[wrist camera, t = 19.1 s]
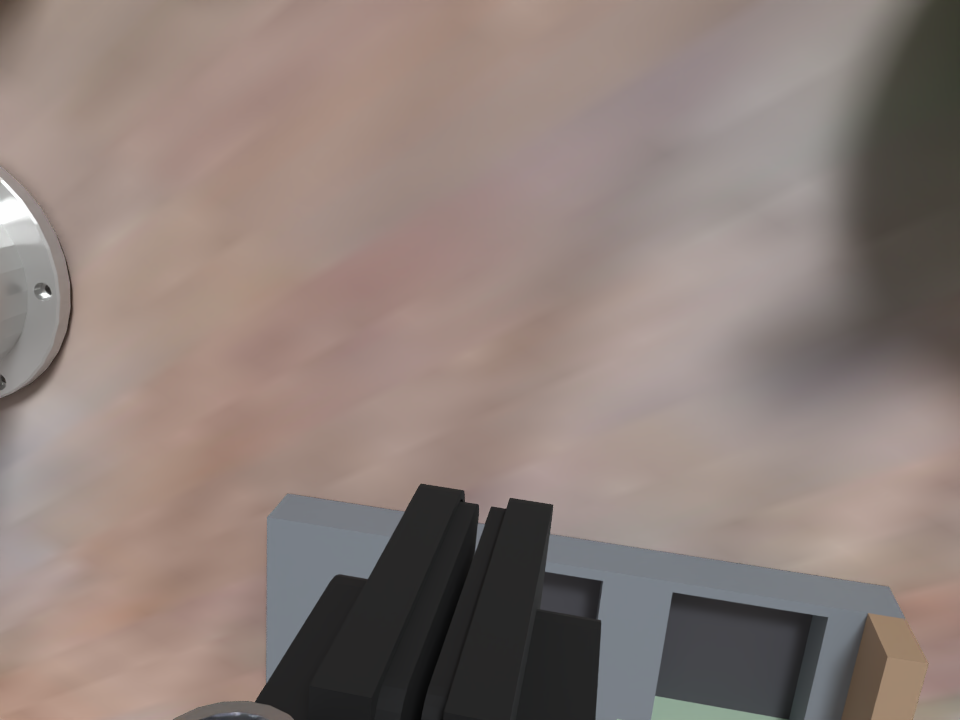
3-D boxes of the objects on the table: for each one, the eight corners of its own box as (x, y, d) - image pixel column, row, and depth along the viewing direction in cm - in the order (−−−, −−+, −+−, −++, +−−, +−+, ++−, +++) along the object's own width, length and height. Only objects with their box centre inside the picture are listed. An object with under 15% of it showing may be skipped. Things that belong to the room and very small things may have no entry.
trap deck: (284, 758, 47) (240, 841, 42) (287, 493, 42) (239, 549, 37) (817, 865, 43) (842, 969, 38) (888, 586, 38) (928, 663, 33)
